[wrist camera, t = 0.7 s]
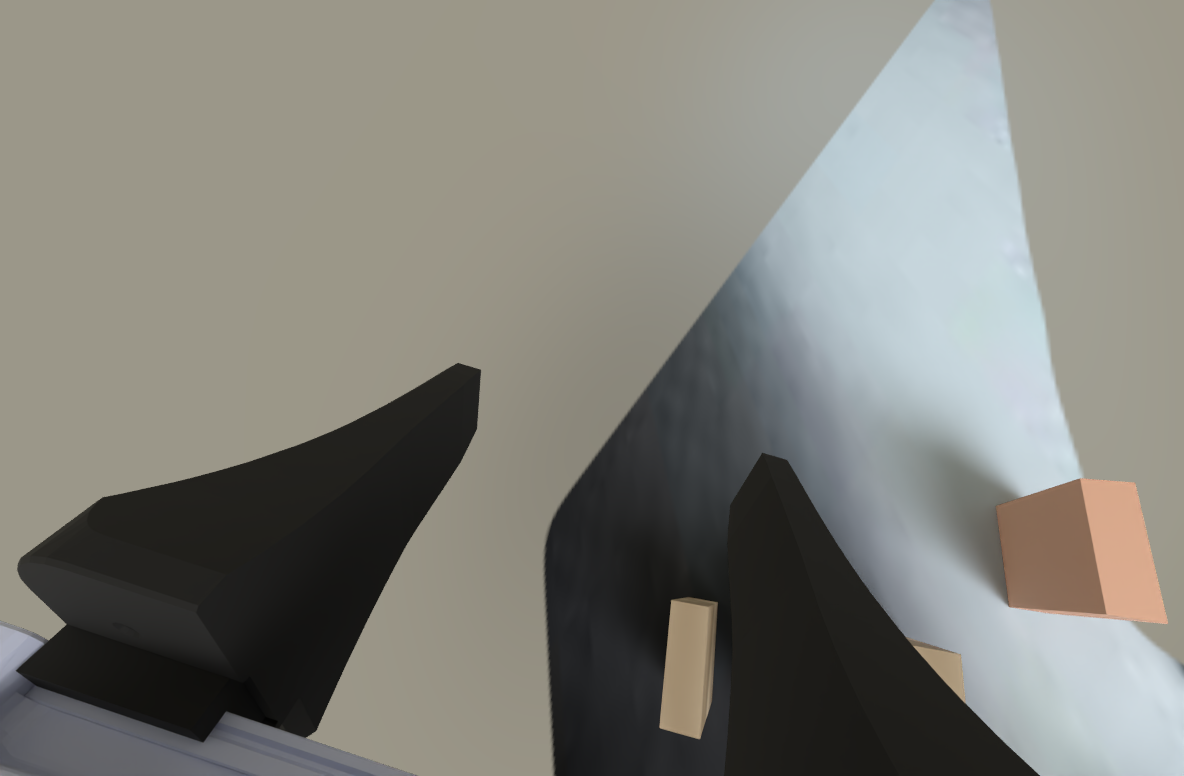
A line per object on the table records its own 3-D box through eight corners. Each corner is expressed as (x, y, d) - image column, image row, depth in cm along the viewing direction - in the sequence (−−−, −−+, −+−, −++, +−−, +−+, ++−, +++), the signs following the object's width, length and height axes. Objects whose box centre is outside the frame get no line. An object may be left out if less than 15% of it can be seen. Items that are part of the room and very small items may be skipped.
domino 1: (680, 693, 25) (659, 728, 19) (688, 597, 27) (671, 600, 21) (711, 701, 25) (699, 739, 19) (717, 602, 26) (708, 607, 20)
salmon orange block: (1009, 607, 23) (1106, 614, 16) (995, 506, 24) (1080, 478, 18) (1051, 613, 22) (1167, 623, 16) (1034, 509, 24) (1135, 482, 18)
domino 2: (872, 741, 22) (919, 801, 16) (868, 630, 24) (909, 644, 18) (911, 751, 22) (976, 817, 16) (905, 636, 23) (960, 654, 17)
